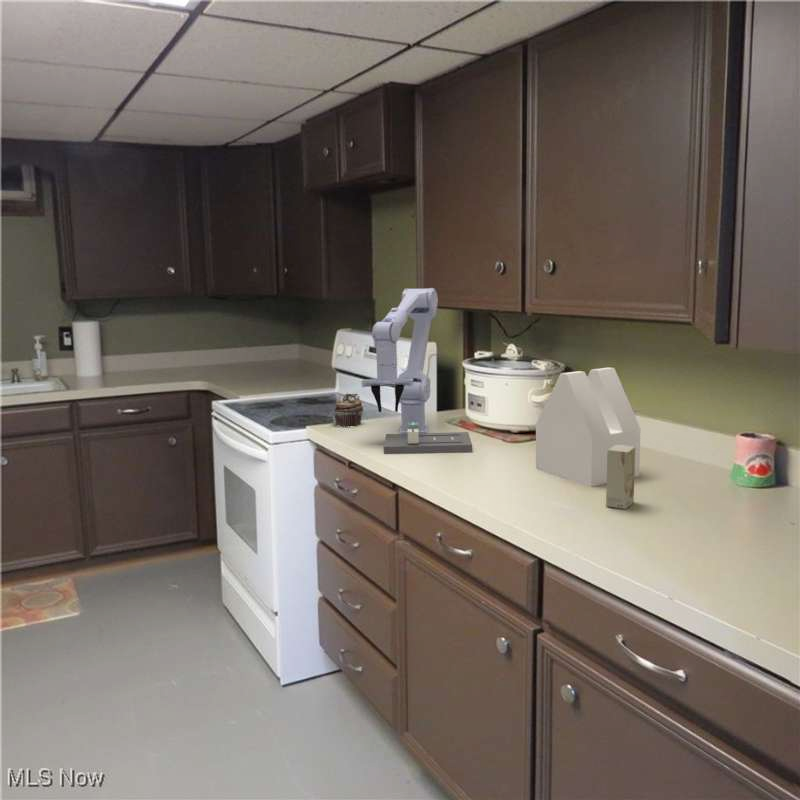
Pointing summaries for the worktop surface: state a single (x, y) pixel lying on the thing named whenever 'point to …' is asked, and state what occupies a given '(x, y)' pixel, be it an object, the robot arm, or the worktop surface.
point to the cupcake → (348, 410)
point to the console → (428, 443)
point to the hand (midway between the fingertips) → (388, 411)
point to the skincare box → (620, 476)
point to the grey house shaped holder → (585, 426)
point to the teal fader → (412, 425)
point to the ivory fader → (413, 436)
